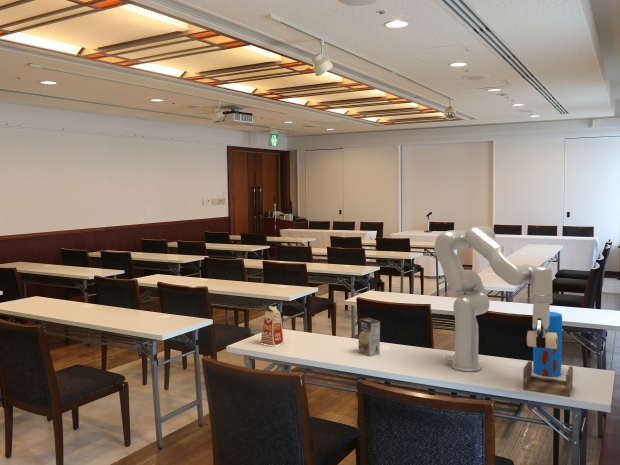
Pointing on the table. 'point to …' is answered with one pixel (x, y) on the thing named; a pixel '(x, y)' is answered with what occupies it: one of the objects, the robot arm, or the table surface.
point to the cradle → (547, 382)
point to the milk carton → (272, 327)
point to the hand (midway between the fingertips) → (542, 345)
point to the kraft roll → (550, 339)
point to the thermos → (549, 351)
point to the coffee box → (369, 336)
